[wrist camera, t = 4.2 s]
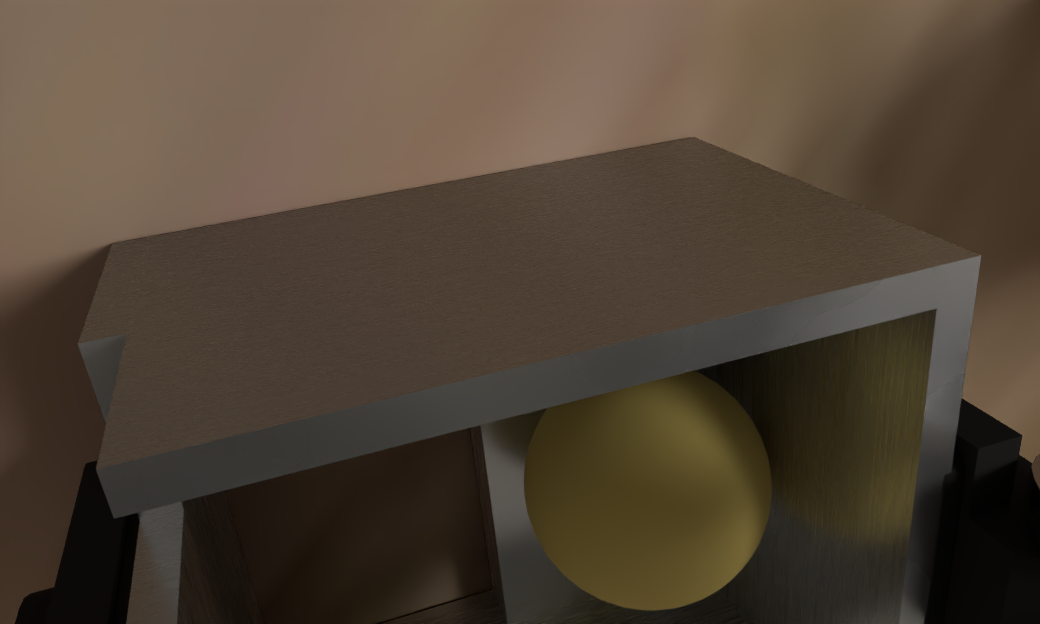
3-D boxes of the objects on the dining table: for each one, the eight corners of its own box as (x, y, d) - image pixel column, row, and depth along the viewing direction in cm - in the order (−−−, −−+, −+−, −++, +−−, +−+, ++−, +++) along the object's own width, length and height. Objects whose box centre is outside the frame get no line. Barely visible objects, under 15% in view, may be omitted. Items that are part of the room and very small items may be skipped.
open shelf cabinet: (111, 243, 10) (29, 485, 5) (694, 136, 12) (981, 254, 7) (250, 684, 13) (268, 1069, 8) (698, 545, 15) (905, 804, 10)
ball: (475, 358, 11) (586, 485, 8) (679, 299, 12) (835, 397, 9) (499, 546, 12) (603, 706, 10) (682, 478, 13) (819, 607, 11)
